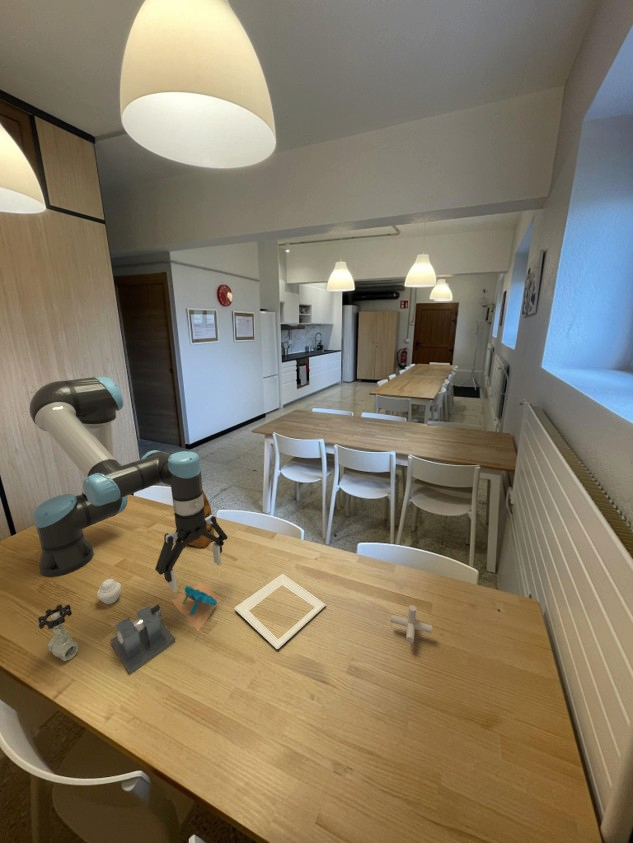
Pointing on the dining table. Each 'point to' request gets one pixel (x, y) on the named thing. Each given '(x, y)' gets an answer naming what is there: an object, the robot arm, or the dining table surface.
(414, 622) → the pipe connector
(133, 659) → the shaft stand
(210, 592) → the pad
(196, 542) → the coffee package
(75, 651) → the valve
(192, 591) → the gear
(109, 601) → the white rounded lump
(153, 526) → the dining table surface
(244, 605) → the white square picture frame
